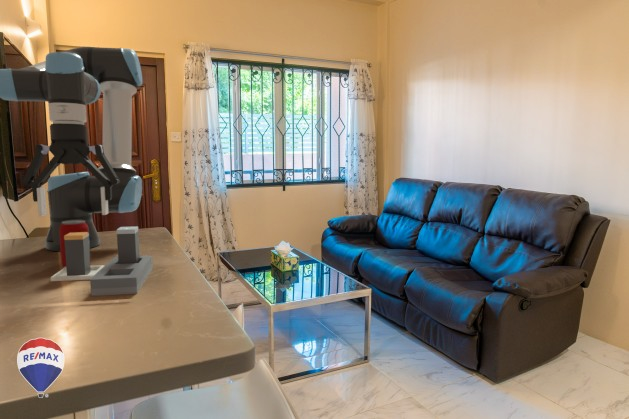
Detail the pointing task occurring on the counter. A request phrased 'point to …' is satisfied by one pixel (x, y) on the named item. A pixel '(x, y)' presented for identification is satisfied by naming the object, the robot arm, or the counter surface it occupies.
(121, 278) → the grey socket block
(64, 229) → the beverage can
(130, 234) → the twin plug
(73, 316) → the counter surface
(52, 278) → the tray
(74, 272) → the plug
